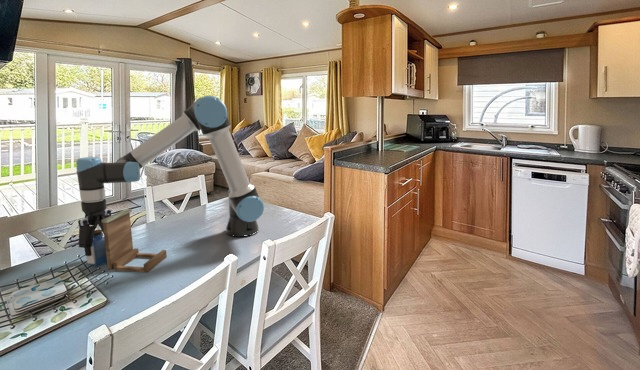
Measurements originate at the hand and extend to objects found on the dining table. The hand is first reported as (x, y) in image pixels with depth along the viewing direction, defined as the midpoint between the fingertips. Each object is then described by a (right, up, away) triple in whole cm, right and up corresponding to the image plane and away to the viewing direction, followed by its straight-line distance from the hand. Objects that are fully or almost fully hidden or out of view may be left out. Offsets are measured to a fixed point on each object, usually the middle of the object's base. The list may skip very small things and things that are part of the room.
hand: (100, 257), depth 127 cm
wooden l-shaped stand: (+15, -2, -1) cm, 15 cm away
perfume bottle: (0, -2, 0) cm, 2 cm away
